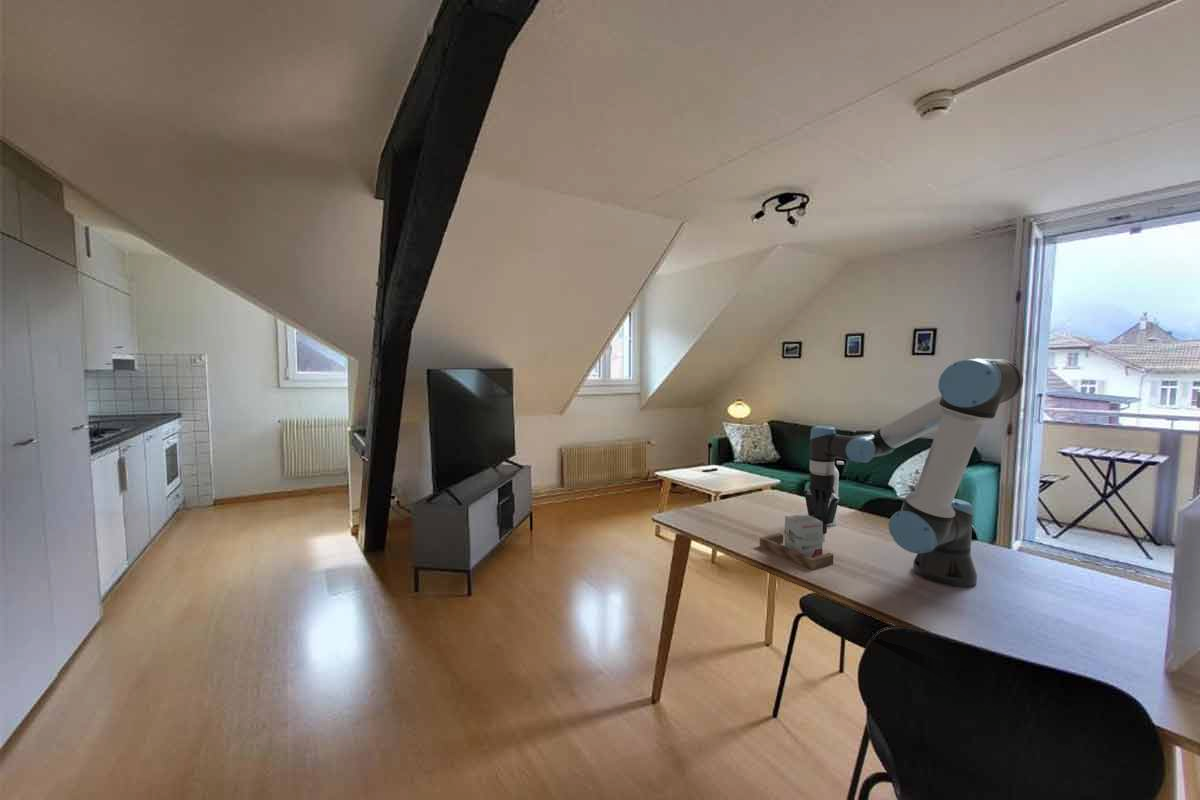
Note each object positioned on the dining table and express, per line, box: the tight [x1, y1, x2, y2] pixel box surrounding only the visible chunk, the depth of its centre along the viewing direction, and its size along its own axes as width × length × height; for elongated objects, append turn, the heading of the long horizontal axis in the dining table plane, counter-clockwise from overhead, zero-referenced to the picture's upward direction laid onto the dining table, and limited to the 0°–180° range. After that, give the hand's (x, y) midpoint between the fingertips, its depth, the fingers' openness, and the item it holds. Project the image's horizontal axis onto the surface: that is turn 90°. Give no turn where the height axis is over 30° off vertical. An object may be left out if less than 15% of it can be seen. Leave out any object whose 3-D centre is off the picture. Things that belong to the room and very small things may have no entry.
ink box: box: [784, 513, 824, 558], centre depth 156 cm, size 9×9×12 cm
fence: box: [759, 532, 835, 571], centre depth 155 cm, size 21×10×3 cm, turn 27°
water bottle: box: [827, 460, 845, 527], centre depth 183 cm, size 9×6×25 cm
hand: (820, 541), depth 160 cm, fingers closed
